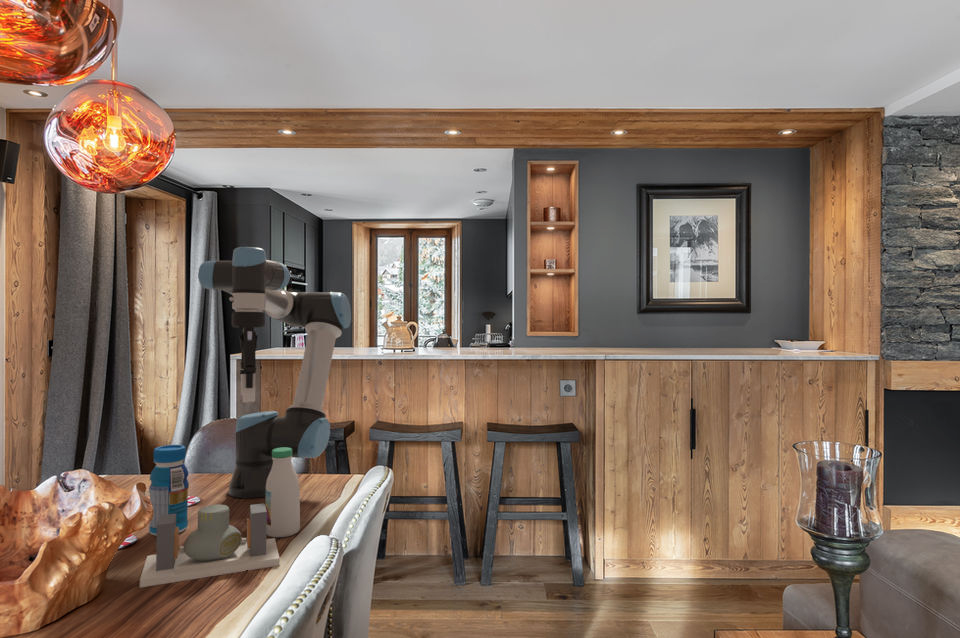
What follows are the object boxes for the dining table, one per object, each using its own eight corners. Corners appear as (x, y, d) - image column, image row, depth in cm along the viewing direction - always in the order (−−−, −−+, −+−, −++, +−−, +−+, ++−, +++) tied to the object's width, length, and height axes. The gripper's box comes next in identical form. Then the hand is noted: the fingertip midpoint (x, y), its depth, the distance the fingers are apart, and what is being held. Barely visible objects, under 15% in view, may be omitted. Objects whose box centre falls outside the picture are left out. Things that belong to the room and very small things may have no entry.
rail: (147, 563, 118) (148, 512, 118) (274, 544, 129) (275, 498, 129) (139, 587, 107) (140, 531, 108) (279, 565, 118) (280, 514, 118)
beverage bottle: (143, 538, 132) (144, 452, 132) (154, 526, 140) (155, 444, 140) (183, 535, 134) (185, 450, 134) (191, 523, 142) (192, 442, 142)
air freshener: (214, 544, 125) (215, 499, 125) (247, 549, 122) (247, 502, 122) (176, 565, 114) (177, 515, 114) (211, 570, 112) (211, 519, 112)
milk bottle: (305, 526, 140) (304, 445, 139) (291, 539, 132) (290, 453, 131) (275, 525, 140) (274, 444, 140) (259, 538, 133) (258, 452, 132)
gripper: (231, 311, 148) (230, 393, 148) (232, 310, 126) (231, 406, 126) (261, 312, 152) (260, 391, 151) (268, 310, 129) (267, 404, 129)
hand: (247, 398), depth 138 cm, fingers open, 13 cm apart
